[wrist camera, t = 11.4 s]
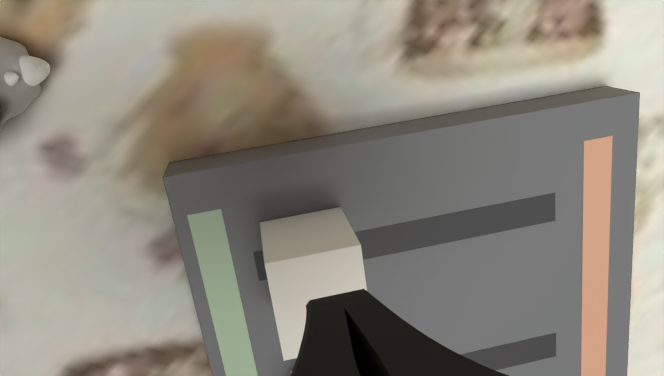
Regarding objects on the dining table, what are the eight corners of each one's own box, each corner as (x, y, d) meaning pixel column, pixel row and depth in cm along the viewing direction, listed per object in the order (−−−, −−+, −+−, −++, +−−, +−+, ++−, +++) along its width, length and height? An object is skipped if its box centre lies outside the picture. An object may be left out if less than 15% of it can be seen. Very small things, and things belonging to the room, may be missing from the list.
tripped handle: (276, 306, 21) (283, 360, 18) (259, 222, 20) (264, 264, 16) (352, 290, 21) (373, 340, 18) (340, 207, 20) (360, 244, 17)
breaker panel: (263, 545, 27) (265, 585, 25) (169, 162, 21) (162, 177, 19) (597, 459, 29) (622, 490, 27) (606, 86, 23) (640, 92, 21)
